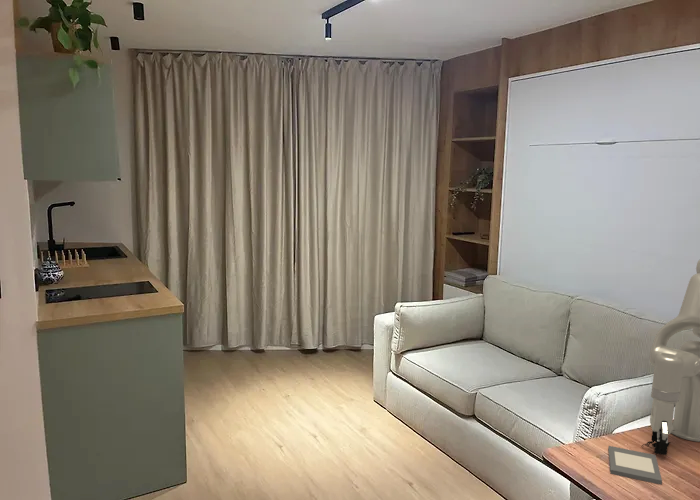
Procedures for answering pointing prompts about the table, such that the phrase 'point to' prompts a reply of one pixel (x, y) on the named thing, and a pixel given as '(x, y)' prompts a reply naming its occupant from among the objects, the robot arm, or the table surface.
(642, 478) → the grey picture mat
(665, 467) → the table surface
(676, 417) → the robot arm
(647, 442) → the creature
